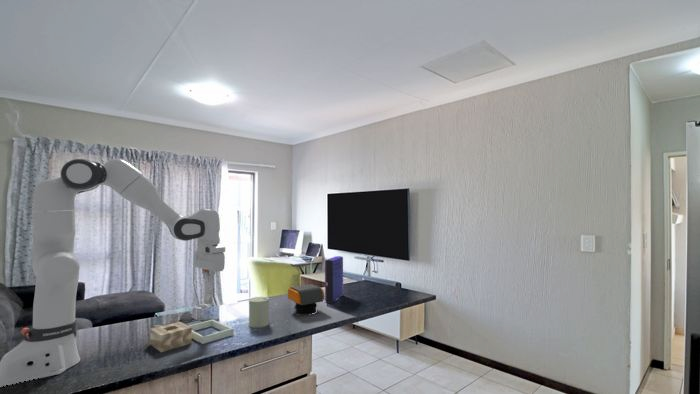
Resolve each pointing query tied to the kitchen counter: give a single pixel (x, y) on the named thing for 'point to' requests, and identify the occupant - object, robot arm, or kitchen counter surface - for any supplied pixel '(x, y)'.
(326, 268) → the cereal box
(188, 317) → the pulley system
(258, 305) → the can
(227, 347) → the kitchen counter surface
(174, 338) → the block
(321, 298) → the sander
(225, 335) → the tray
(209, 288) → the lock pin
